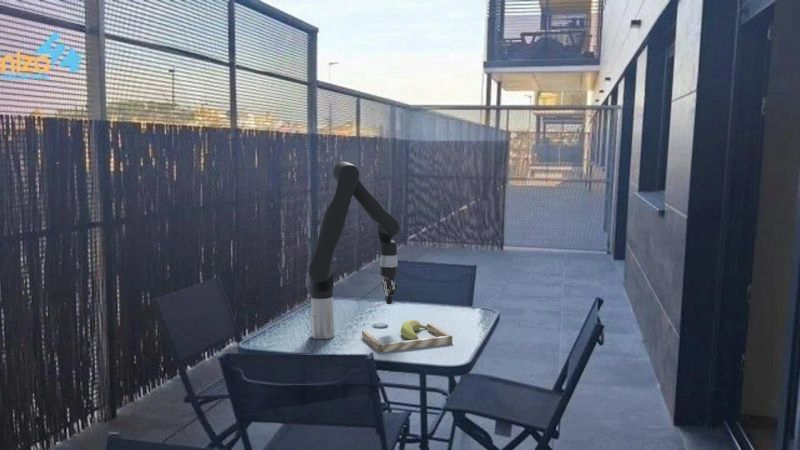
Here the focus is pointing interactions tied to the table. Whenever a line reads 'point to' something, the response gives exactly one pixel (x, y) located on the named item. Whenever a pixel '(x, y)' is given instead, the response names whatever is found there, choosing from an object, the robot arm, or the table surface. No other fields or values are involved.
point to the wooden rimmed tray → (410, 341)
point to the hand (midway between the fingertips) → (389, 303)
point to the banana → (411, 329)
